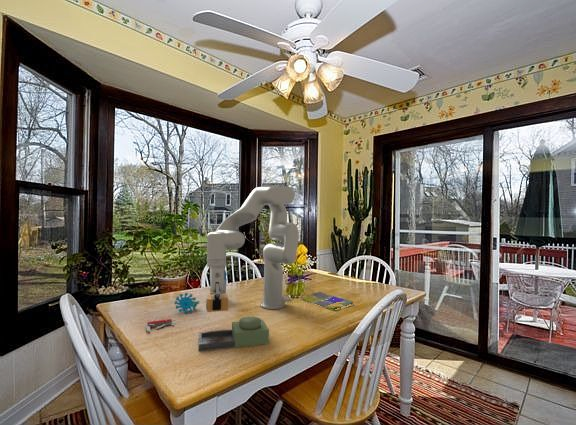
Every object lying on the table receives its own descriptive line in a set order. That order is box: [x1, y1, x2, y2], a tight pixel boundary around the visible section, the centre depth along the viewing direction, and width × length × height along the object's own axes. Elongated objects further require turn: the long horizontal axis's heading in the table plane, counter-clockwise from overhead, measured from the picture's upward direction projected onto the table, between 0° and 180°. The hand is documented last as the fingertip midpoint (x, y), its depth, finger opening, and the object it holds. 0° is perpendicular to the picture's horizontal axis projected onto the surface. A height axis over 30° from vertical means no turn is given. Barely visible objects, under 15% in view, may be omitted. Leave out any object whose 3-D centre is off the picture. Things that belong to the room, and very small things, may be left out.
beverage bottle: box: [209, 266, 228, 295], centre depth 153 cm, size 8×8×20 cm
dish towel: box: [301, 291, 354, 311], centre depth 155 cm, size 18×24×3 cm
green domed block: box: [231, 316, 270, 348], centre depth 107 cm, size 12×10×7 cm
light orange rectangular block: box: [205, 293, 229, 313], centre depth 117 cm, size 8×6×5 cm
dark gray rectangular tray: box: [197, 329, 236, 352], centre depth 103 cm, size 12×10×2 cm
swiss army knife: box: [146, 316, 177, 332], centre depth 117 cm, size 12×14×2 cm
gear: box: [174, 292, 200, 314], centre depth 136 cm, size 11×6×10 cm
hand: (216, 306), depth 117 cm, fingers closed on light orange rectangular block, 6 cm apart
